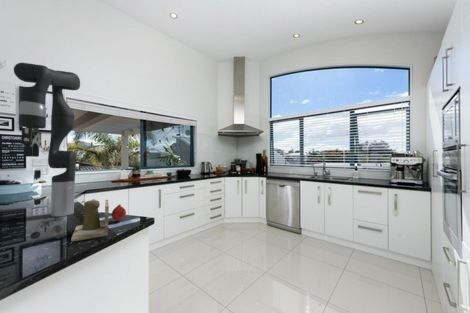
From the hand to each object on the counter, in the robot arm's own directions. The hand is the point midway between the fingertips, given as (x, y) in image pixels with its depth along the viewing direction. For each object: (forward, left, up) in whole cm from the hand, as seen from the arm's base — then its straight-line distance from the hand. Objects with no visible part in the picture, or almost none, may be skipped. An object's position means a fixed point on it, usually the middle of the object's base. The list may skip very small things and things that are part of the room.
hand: (31, 156), depth 79 cm
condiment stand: (+10, +20, -30) cm, 37 cm away
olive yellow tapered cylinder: (+9, +20, -29) cm, 36 cm away
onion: (0, +30, -30) cm, 43 cm away
